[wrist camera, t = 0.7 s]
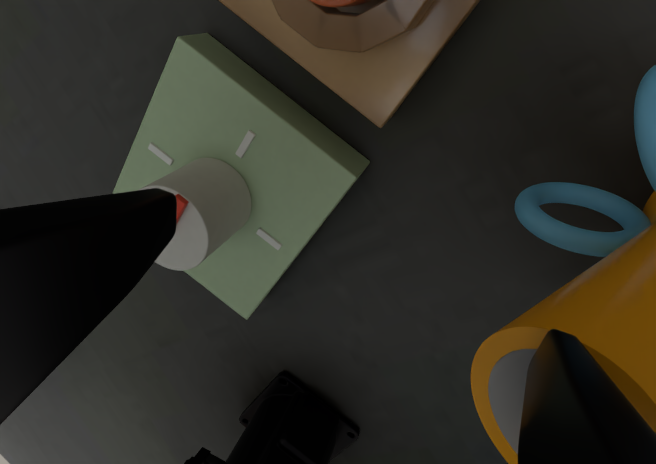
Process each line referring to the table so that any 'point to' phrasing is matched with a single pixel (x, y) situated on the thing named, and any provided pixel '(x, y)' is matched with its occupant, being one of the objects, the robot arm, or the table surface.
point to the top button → (339, 2)
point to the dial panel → (243, 162)
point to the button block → (360, 43)
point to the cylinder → (584, 296)
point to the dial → (203, 210)
